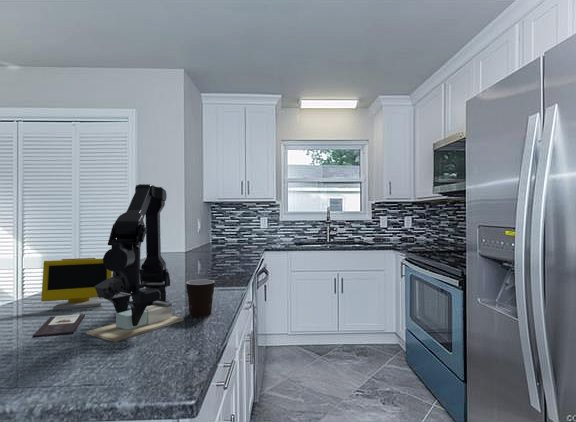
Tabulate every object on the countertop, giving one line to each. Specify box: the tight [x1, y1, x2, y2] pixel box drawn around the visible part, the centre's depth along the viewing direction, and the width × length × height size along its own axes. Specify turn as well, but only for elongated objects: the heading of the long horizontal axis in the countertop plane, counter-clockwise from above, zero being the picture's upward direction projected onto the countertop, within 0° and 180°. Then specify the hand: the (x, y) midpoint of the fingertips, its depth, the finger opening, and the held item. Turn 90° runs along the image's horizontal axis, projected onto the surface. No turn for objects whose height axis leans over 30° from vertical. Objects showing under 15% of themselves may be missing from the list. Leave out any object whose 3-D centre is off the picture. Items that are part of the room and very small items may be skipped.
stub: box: [115, 309, 147, 330], centre depth 102 cm, size 5×6×4 cm
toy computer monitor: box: [40, 257, 113, 311], centre depth 127 cm, size 20×8×16 cm, turn 114°
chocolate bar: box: [32, 313, 86, 338], centre depth 104 cm, size 9×1×18 cm
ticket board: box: [85, 301, 185, 343], centre depth 104 cm, size 12×22×5 cm, turn 149°
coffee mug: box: [185, 279, 216, 318], centre depth 118 cm, size 12×9×10 cm
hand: (128, 324), depth 101 cm, fingers open, 5 cm apart
